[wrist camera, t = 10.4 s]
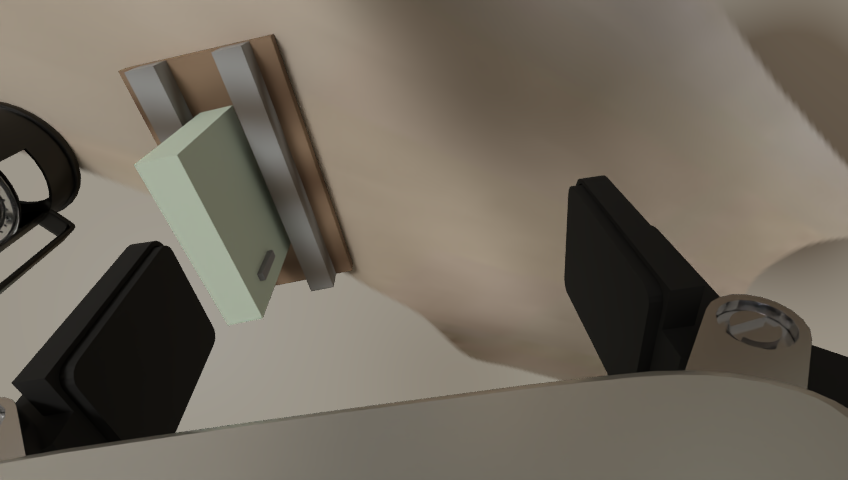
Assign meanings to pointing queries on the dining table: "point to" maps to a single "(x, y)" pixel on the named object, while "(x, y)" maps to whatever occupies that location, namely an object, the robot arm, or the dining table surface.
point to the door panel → (220, 211)
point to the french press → (3, 212)
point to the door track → (293, 124)
